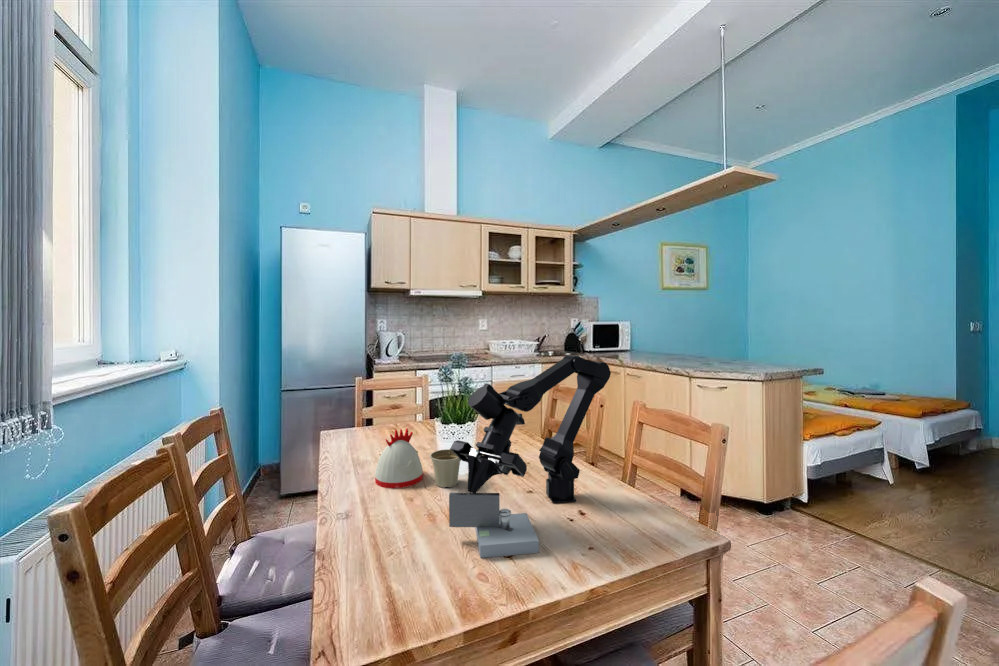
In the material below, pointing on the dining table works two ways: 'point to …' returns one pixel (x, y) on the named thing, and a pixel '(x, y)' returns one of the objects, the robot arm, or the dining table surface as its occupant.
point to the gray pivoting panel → (477, 510)
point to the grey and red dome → (399, 463)
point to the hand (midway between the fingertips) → (470, 492)
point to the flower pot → (445, 467)
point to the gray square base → (508, 538)
